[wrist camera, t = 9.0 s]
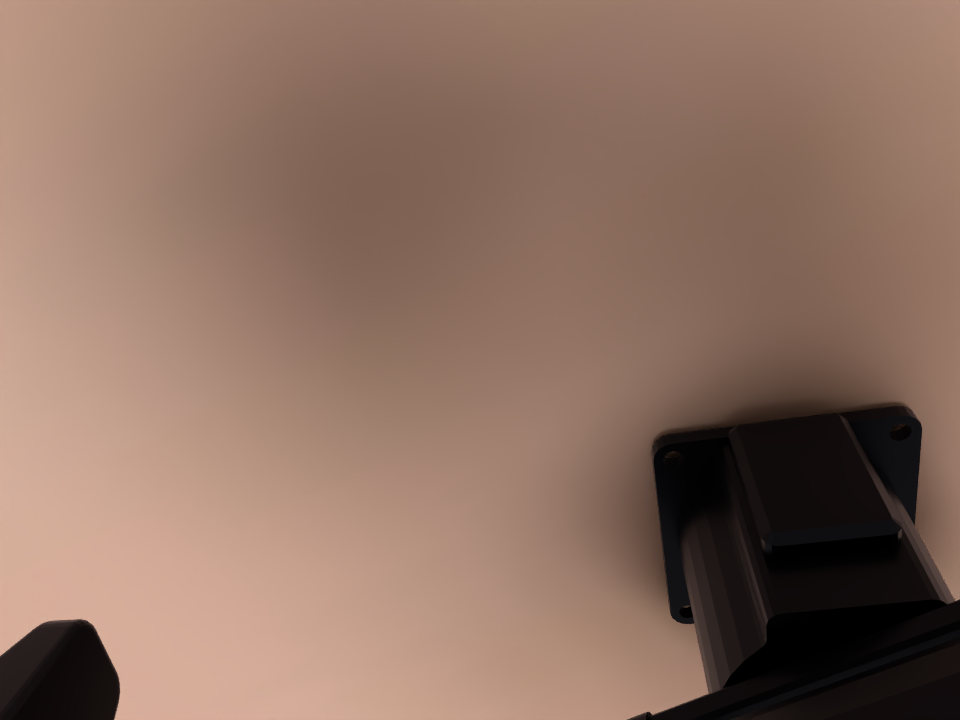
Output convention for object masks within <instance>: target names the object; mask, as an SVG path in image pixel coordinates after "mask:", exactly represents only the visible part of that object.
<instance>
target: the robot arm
mask: <svg viewBox="0 0 960 720" xmlns="http://www.w3.org/2000/svg"><path fill="white" fill-rule="evenodd" d="M899 424H905V425H904V426H903V427H902V428H901V429H900V430H897V431H891V429H892V428H893V427H894V426H896V425H899ZM921 437H922V427H921V423H920V421H919V420H918V418H917V417H916V415H915V414H914V413H913V412H912V410H911V409H908V408H906V407H899V406H895V407H887V408H879V409H871V410H863V411H855V412H846V413H838V414H836V413H832V414H824V415H816V416H808V417H800V418H792V419H783V420H775V421H767V422H759V423H751V424H743V425H738V426H733V427H725V428H717V429H709V430H700V431H692V432H684V433H676V434H669V435H665V436H662V437H661V438H659V439H658V440H656V441H655V443H654V444H653V446H652V461H653V470H654V478H655V487H656V496H657V505H658V513H659V522H660V531H661V539H662V548H663V557H664V566H665V574H666V583H667V592H668V601H669V607H670V613H671V616H672V618H673V619H674V620H676V621H677V622H679V623H682V624H694V623H695V628H696V633H697V638H698V643H699V648H700V653H701V658H702V662H703V667H704V672H705V677H706V682H707V687H708V692H709V694H707V695H704V696H702V697H699V698H696V699H694V700H691V701H688V702H686V703H683V704H680V705H678V706H675V707H672V708H670V709H667V710H664V711H662V712H659V713H656V714H654V715H652V714H651V713H650V712H646V713H643V714H641V715H638V716H635V717H633V718H630V719H627V720H960V600H957V601H955V599H954V598H953V596H952V594H951V592H950V590H949V588H948V587H947V585H946V583H945V581H944V579H943V577H942V576H941V574H940V572H939V570H938V568H937V566H936V565H935V563H934V561H933V559H932V557H931V555H930V554H929V552H928V550H927V548H926V546H925V544H924V542H923V541H922V539H921V537H920V535H919V533H918V531H917V530H916V528H915V514H916V501H917V488H918V475H919V463H920V450H921ZM672 451H674V452H679V453H680V454H679V455H678V456H676V457H673V458H668V457H665V455H666V454H667V453H669V452H672ZM687 605H690V607H684V606H687ZM119 696H120V683H119V678H118V674H117V672H116V670H115V668H114V666H113V664H112V662H111V660H110V658H109V656H108V654H107V652H106V649H105V647H104V645H103V643H102V641H101V639H100V637H99V635H98V633H97V631H96V629H95V628H94V626H93V625H92V624H90V623H89V622H88V621H86V620H82V619H77V620H58V621H48V622H45V623H43V624H41V625H39V626H38V627H36V628H35V629H33V630H32V631H31V632H30V633H28V634H27V635H26V636H25V637H23V638H22V639H21V640H20V641H18V642H17V643H16V644H15V645H14V646H12V647H11V648H10V649H9V650H7V651H6V652H5V653H4V654H2V655H1V656H0V720H114V719H115V715H116V711H117V707H118V702H119Z"/></svg>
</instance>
